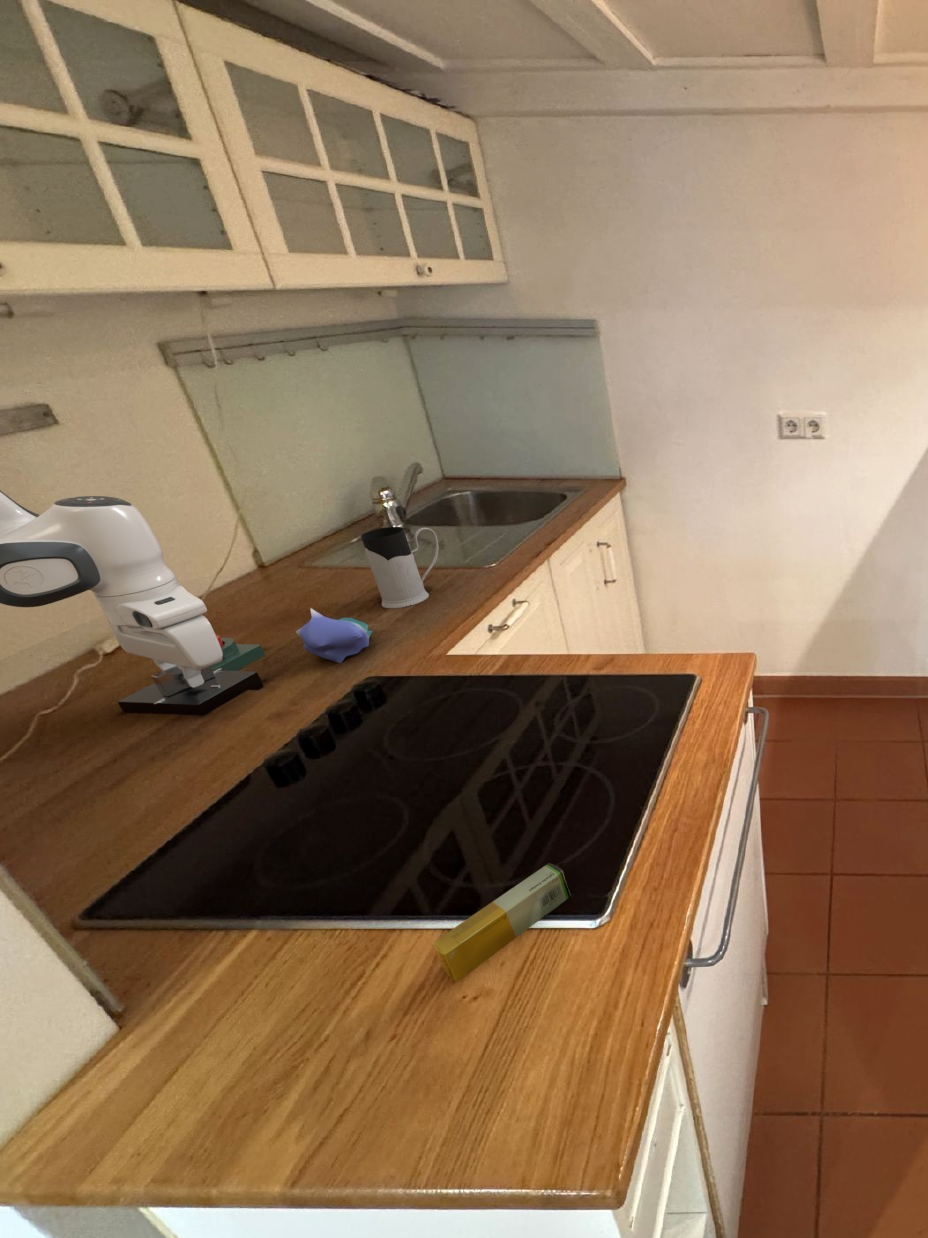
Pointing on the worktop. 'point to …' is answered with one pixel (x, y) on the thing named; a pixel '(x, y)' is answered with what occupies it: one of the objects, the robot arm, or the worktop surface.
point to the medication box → (501, 922)
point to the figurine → (334, 636)
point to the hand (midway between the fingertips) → (187, 682)
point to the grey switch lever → (176, 680)
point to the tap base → (193, 695)
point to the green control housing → (237, 655)
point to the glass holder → (396, 566)
